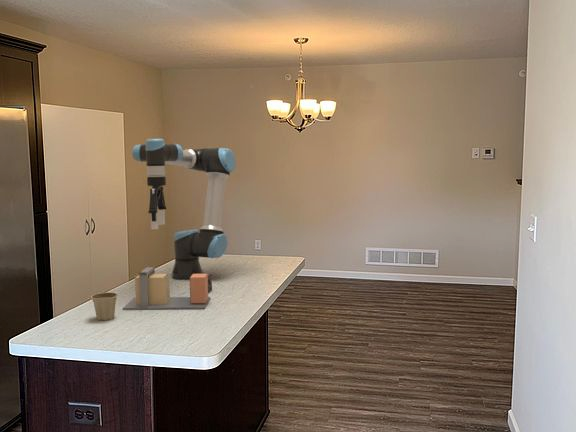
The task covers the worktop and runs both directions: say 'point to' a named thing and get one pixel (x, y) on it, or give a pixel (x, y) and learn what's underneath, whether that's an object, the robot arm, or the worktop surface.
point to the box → (209, 283)
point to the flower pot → (104, 305)
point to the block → (198, 288)
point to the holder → (157, 294)
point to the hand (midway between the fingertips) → (158, 226)
